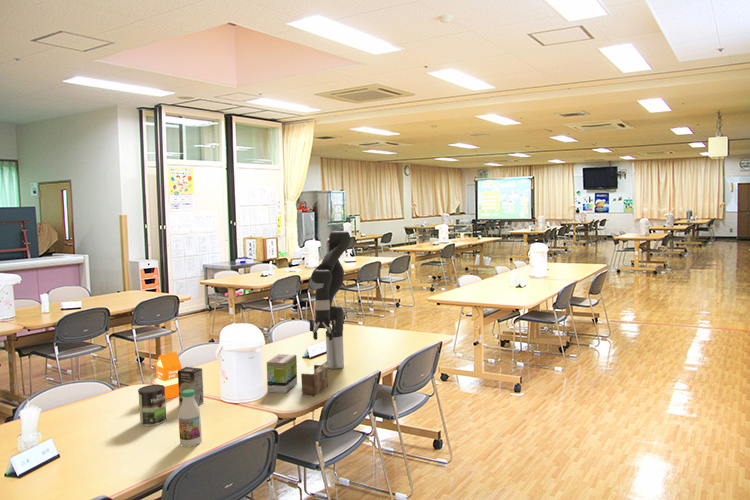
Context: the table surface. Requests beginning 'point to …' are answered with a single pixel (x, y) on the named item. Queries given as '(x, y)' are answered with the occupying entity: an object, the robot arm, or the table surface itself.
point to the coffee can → (152, 405)
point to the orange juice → (168, 373)
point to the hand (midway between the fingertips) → (323, 339)
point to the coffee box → (191, 383)
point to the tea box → (281, 373)
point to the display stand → (315, 380)
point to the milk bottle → (189, 420)
